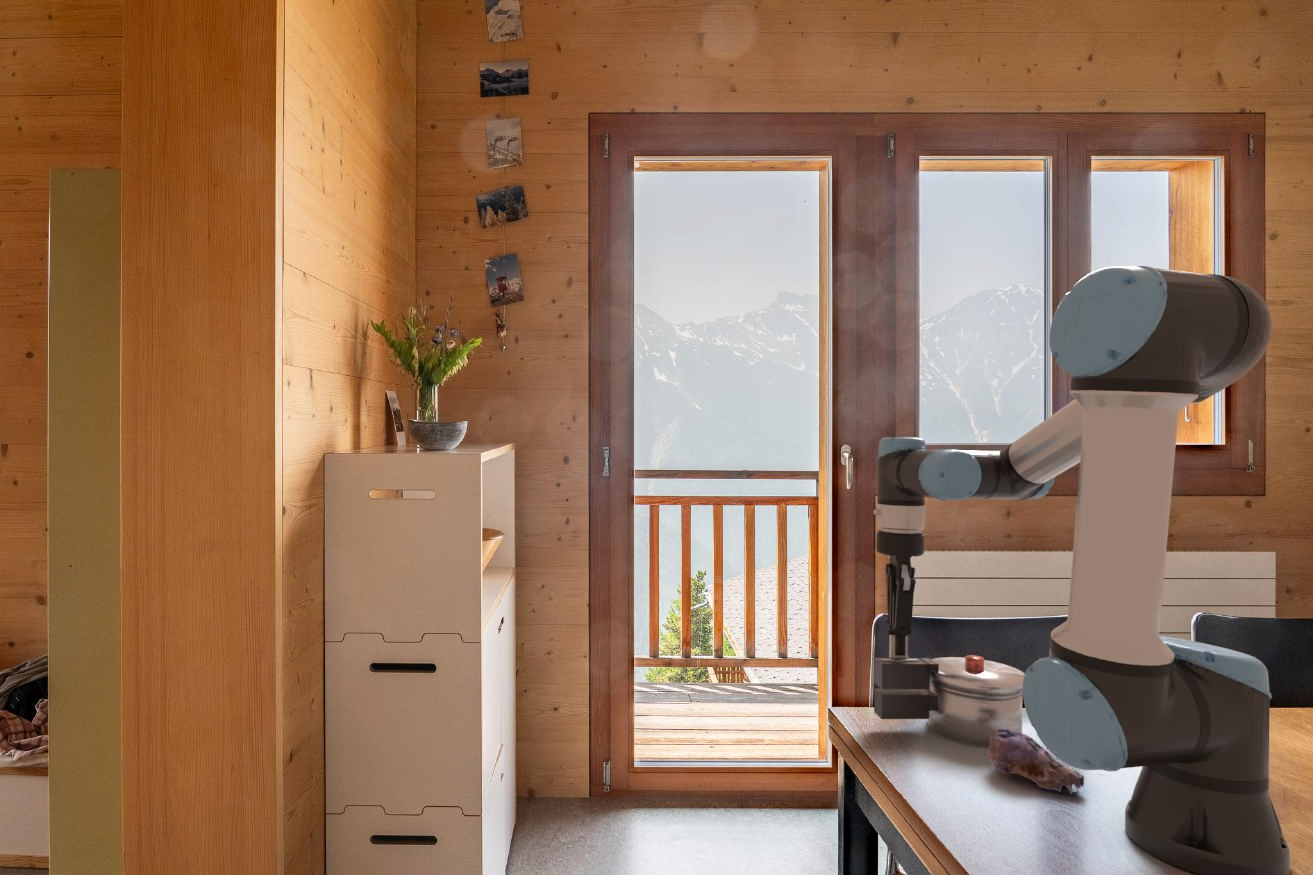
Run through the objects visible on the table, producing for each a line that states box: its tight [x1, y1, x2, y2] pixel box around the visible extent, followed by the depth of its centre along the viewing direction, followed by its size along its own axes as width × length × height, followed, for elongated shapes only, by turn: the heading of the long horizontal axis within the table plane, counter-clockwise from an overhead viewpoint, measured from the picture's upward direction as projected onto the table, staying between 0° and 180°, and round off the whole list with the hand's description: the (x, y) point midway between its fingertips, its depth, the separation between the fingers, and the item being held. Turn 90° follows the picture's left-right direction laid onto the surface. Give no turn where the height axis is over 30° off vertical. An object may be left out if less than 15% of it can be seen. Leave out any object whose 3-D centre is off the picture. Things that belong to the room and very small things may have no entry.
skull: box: [987, 728, 1085, 795], centre depth 101 cm, size 12×8×6 cm, turn 37°
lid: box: [873, 654, 1026, 694], centre depth 120 cm, size 15×24×5 cm, turn 94°
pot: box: [873, 680, 1023, 748], centre depth 120 cm, size 14×23×8 cm, turn 94°
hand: (898, 673), depth 122 cm, fingers closed
